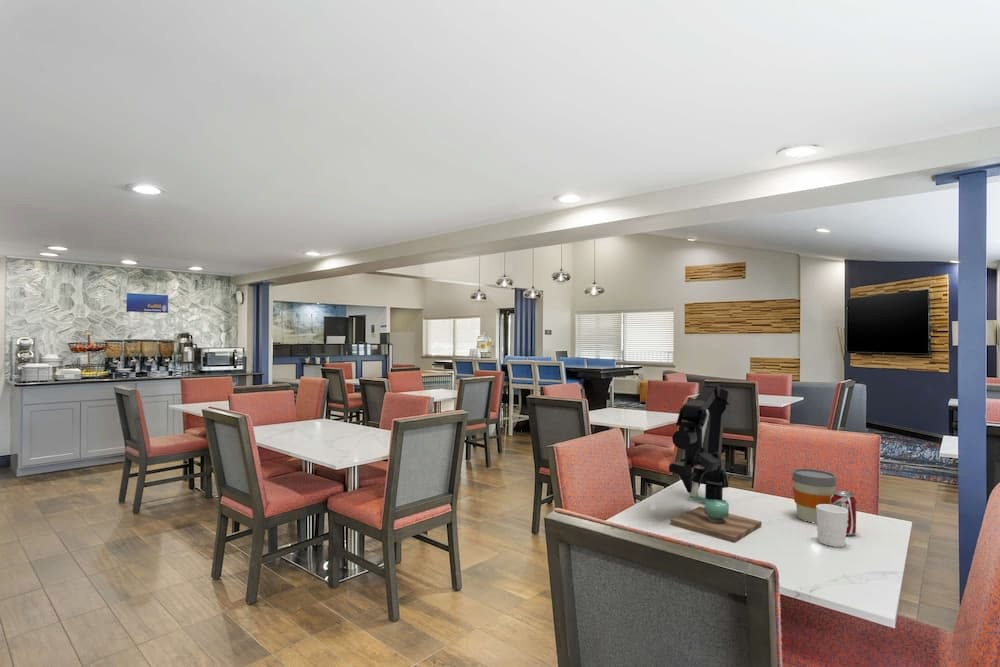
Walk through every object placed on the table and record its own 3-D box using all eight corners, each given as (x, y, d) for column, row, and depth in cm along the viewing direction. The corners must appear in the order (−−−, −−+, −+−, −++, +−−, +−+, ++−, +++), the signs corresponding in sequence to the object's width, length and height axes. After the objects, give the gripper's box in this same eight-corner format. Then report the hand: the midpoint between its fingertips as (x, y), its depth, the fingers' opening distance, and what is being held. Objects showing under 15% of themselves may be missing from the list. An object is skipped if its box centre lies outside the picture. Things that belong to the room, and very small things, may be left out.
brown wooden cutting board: (699, 510, 186) (700, 501, 186) (761, 526, 172) (761, 516, 172) (670, 524, 172) (670, 514, 172) (735, 542, 158) (735, 531, 158)
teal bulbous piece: (681, 506, 180) (682, 483, 179) (696, 503, 183) (697, 480, 183) (718, 519, 167) (718, 494, 167) (733, 515, 171) (733, 491, 171)
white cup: (845, 550, 154) (846, 514, 154) (813, 543, 159) (814, 508, 159) (848, 542, 160) (849, 507, 160) (817, 535, 165) (818, 502, 165)
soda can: (848, 529, 171) (849, 490, 171) (860, 537, 164) (861, 497, 164) (825, 528, 172) (826, 489, 172) (836, 536, 165) (837, 496, 165)
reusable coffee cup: (824, 514, 186) (825, 469, 185) (843, 527, 173) (844, 479, 173) (785, 512, 187) (785, 467, 187) (801, 524, 174) (802, 477, 174)
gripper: (699, 452, 167) (699, 503, 168) (731, 443, 179) (731, 491, 179) (667, 445, 176) (667, 494, 176) (700, 438, 188) (700, 483, 188)
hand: (692, 491), depth 180 cm, fingers open, 4 cm apart
